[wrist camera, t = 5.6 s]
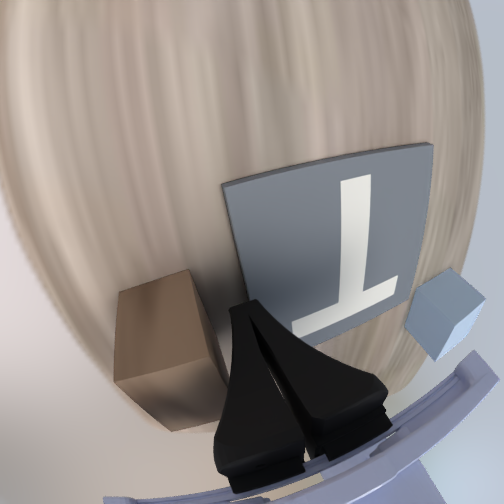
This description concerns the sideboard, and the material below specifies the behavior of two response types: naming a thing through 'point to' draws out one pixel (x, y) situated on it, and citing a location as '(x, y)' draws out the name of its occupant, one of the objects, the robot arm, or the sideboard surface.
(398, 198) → the letter card
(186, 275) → the walnut block
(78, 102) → the sideboard surface
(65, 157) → the sideboard surface
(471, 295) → the blue cube
